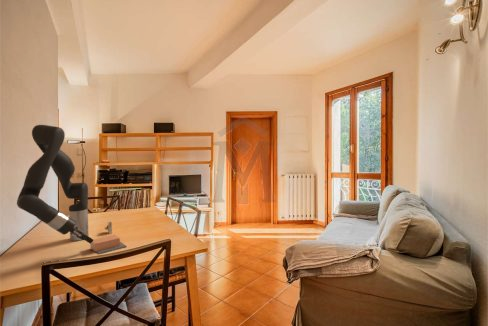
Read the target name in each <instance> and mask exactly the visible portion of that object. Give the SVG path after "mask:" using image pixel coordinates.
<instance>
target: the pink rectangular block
mask: <svg viewBox="0 0 488 326" xmlns="http://www.w3.org/2000/svg"><path fill="white" fill-rule="evenodd" d="M120 240H121V238H120V237H119V236H117V235H116V234H113V235H112V234H111V235H107V236H104V237H103V236H102V237H98V238H94V239H93V242H92V243H89V244H90V245H89V247H90V249H91V250H92V251H93V252H97V251H100V250H104V249H108V248H112V247H116V246H119V245H120V242H121V241H120Z"/></svg>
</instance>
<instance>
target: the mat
mask: <svg viewBox="0 0 488 326" xmlns="http://www.w3.org/2000/svg"><path fill="white" fill-rule="evenodd" d="M123 248H127V245H126V244H125V243H123V242H122V241H120V245H119V246H116V247H112V248H108V249H104V250H100V251H96V252H97V254H98V255H101V254H106V253H108V252H112V251H116V250H120V249H123Z"/></svg>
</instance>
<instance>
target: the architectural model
mask: <svg viewBox="0 0 488 326" xmlns="http://www.w3.org/2000/svg"><path fill="white" fill-rule="evenodd" d="M103 228H104V230H105V231H107V234H108V235H112V233H113V223H112V221H111V220H109V221H107V224H106V226H104V227H103Z"/></svg>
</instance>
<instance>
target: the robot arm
mask: <svg viewBox="0 0 488 326" xmlns="http://www.w3.org/2000/svg"><path fill="white" fill-rule="evenodd" d="M31 136H32V139H33V141H34V143H35V144H36V146H37V147H38V148H39V149H40V150H41V152H42V153H43V154H42V155H41V156H40V157H39V158H38V159H37V160H35V161H34V162H33V164H32V165H31V166H30V167H29V169H28V171H27V174H26V176H25V178H24V181H23V186H22V188H21V190H20V192H19V194H18V197H17V200H16V206H17V207H18V208H19V209H21V210H23V211H25V212H27V213H28V214H30V215H32V216H34V217H36V218H37V219H38V220H39V221H40V222H42V223H44V224H45V225H48V226H49V227H50V228H51V229H53V230H55V231H57V232H58V233H60V234H61V235H67V234H68V233H69V241H71V242H77V241H78V242H79V241H85V242H87V243H89V244H90V243H92V242H93V240H94V239H93V238H92V237H90V236H89V212H88V211H89V209H88V205H89V186H88V184H87V183H86V182H71V178H72V177H73V175H74V173H75V170H76V167H75V165H74V163H73V161H72V158H71V157H70V156H69V155H68V154H66V152H64V151H63V150H61V147H62V145H63V143H64V141H65V136H66V134H65V131H64V129H63V128H62V127H60V126H59V127H58V126H53V125H48V124H37V125H34V127H33V128H32V130H31ZM50 169H52V170H53V172H54V174H55V176H56V177H57V179H58V181H59V183H60V186H61V188H62V190H63V193H64V195H65V196H66V198H67V199H69V200H71V199H72V200H73V199H74V200H75V199H76V200H77V199H79V201H78V202H75V203H73V204H71V205H69V206H68V215H67V214H66V213H63V212H61V211H60V210H58V209H57V208H55V207H54V206H52V205H49V204H48V203H47V202H45V201H44V200H43V199H42V198H40V197H39V196H40V193H41V191H42V189H43V188H44V185H45V183H46V181H47V177H48V174H49V171H50Z"/></svg>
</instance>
